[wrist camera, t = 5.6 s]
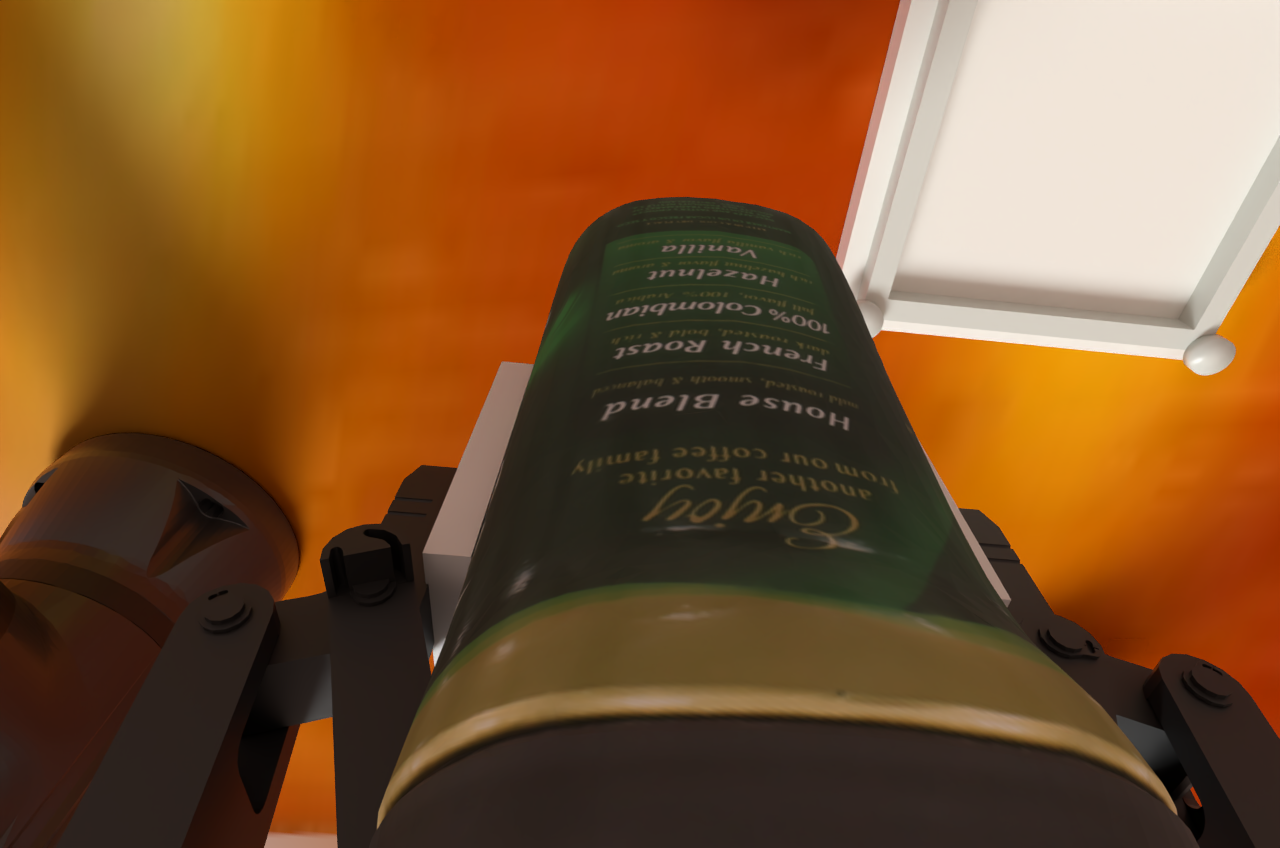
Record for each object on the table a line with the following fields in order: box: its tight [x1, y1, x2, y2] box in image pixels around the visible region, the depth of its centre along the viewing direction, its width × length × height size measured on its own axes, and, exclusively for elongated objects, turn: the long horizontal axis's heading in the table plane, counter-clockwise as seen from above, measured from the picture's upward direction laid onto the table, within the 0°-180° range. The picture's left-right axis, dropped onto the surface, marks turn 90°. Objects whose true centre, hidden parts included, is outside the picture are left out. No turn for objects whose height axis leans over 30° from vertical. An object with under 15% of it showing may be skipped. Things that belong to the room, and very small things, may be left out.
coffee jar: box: [369, 197, 1200, 848], centre depth 12 cm, size 10×8×19 cm
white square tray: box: [836, 0, 1280, 375], centre depth 28 cm, size 18×18×3 cm
